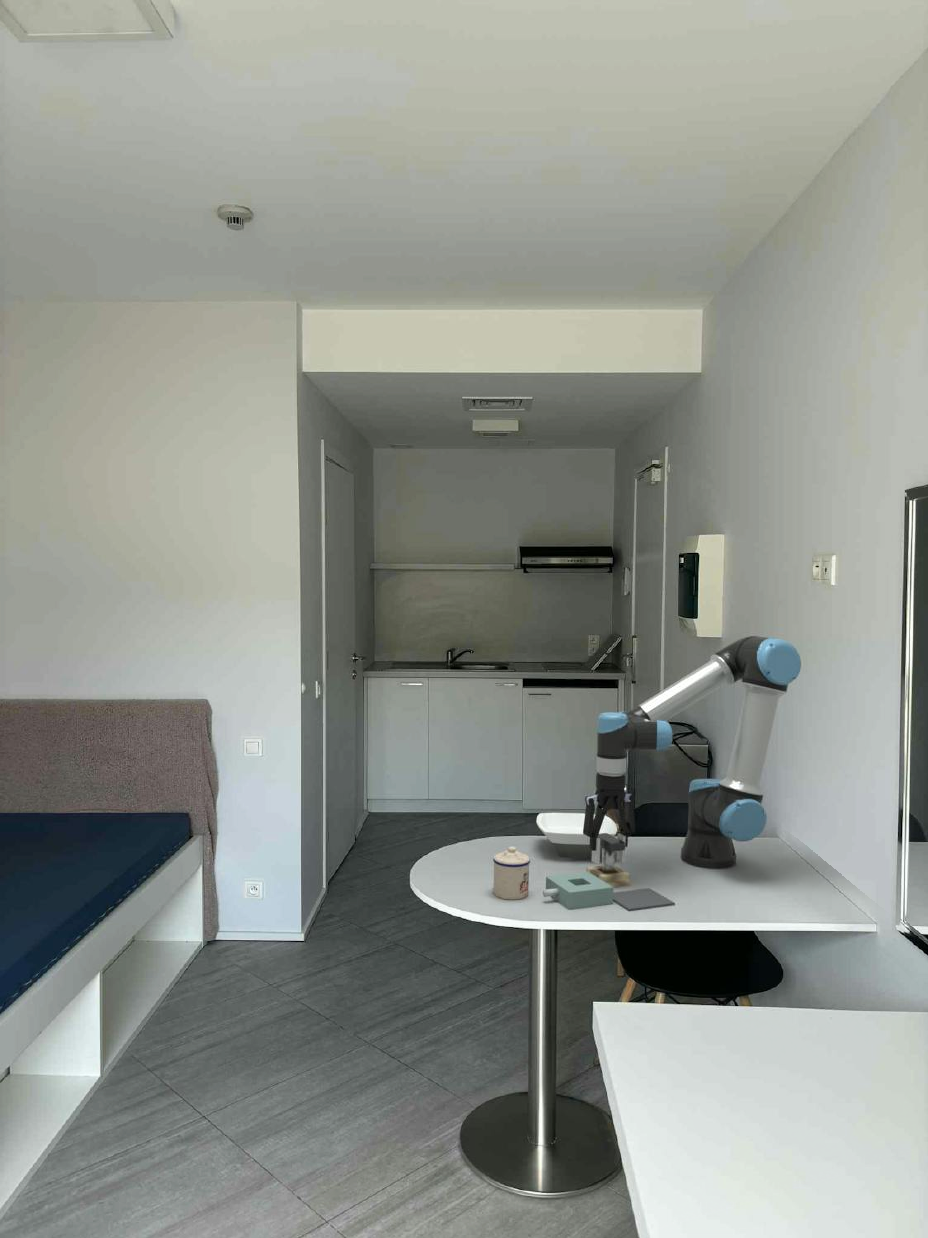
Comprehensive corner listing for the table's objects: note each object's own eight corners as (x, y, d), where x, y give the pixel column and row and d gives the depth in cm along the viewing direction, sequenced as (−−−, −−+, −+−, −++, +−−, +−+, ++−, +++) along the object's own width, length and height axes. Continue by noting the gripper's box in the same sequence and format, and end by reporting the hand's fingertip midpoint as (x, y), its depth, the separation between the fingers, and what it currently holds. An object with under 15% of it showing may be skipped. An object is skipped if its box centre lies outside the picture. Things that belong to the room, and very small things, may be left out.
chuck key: (605, 876, 235) (606, 833, 234) (623, 887, 226) (625, 842, 226) (592, 877, 233) (593, 834, 233) (610, 888, 225) (611, 843, 224)
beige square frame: (612, 875, 235) (613, 864, 235) (629, 885, 227) (629, 874, 227) (586, 878, 232) (586, 867, 232) (602, 888, 224) (602, 877, 224)
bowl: (621, 865, 244) (622, 834, 244) (538, 862, 245) (539, 832, 244) (609, 841, 267) (610, 814, 266) (533, 839, 267) (533, 812, 266)
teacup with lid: (527, 902, 214) (528, 854, 213) (490, 899, 215) (491, 851, 215) (531, 885, 226) (533, 840, 225) (496, 882, 227) (497, 837, 227)
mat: (649, 890, 224) (649, 888, 224) (674, 905, 214) (675, 903, 214) (604, 895, 220) (604, 893, 220) (628, 911, 209) (628, 909, 209)
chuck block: (587, 887, 225) (588, 872, 225) (612, 903, 214) (613, 887, 214) (533, 894, 219) (533, 878, 219) (555, 911, 208) (556, 894, 208)
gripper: (635, 768, 236) (632, 853, 237) (570, 772, 228) (567, 860, 229) (651, 773, 229) (648, 862, 230) (584, 778, 221) (581, 869, 222)
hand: (608, 861), depth 229 cm, fingers open, 7 cm apart
